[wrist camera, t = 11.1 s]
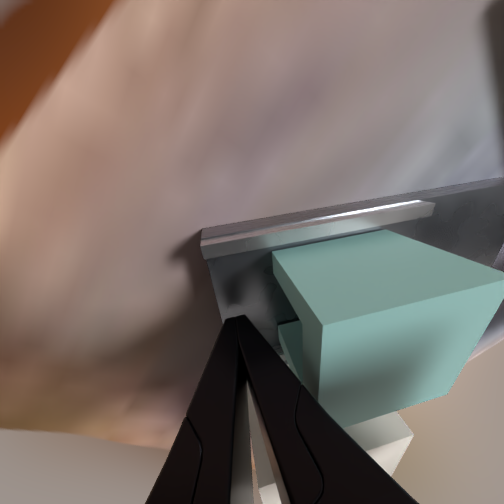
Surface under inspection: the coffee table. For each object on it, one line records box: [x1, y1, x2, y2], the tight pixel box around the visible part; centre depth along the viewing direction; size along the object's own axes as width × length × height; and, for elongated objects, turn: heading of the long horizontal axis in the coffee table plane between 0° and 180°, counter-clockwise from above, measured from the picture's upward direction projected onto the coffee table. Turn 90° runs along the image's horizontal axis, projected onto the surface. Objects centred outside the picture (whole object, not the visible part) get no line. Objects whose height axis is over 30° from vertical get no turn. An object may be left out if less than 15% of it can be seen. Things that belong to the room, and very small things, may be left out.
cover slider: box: [272, 229, 504, 428], centre depth 7 cm, size 5×5×4 cm
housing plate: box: [200, 177, 504, 427], centre depth 9 cm, size 15×14×6 cm
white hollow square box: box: [247, 364, 414, 504], centre depth 10 cm, size 6×6×4 cm
